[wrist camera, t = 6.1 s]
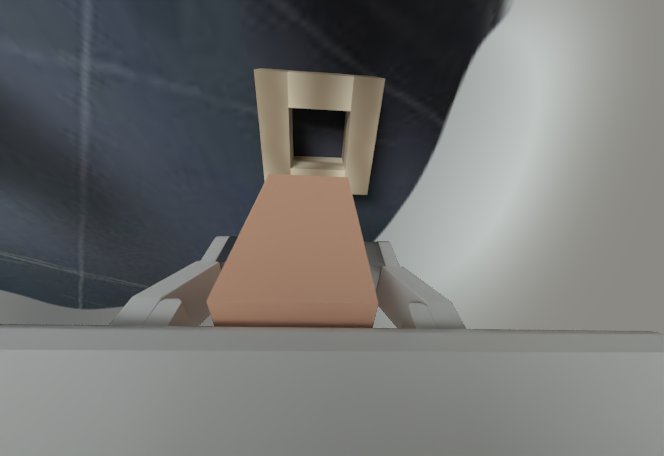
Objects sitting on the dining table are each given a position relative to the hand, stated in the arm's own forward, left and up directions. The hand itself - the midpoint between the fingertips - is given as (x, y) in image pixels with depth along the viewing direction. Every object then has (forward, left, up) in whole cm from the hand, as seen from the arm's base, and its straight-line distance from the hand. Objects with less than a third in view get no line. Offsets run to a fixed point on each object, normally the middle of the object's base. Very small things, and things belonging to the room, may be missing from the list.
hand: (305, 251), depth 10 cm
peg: (0, 0, -4) cm, 4 cm away
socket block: (+1, 0, -20) cm, 20 cm away
